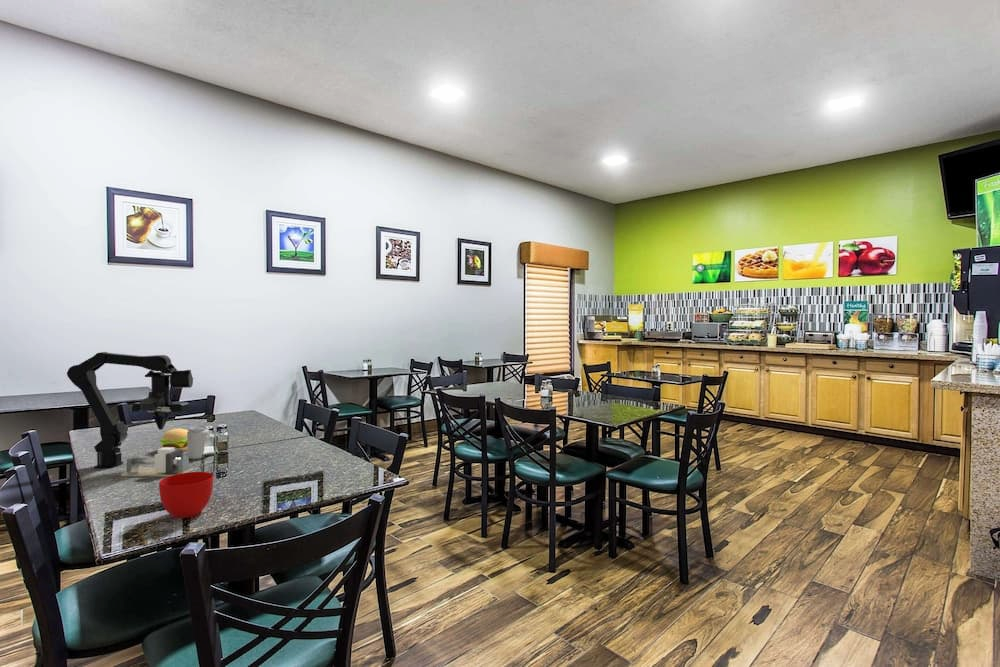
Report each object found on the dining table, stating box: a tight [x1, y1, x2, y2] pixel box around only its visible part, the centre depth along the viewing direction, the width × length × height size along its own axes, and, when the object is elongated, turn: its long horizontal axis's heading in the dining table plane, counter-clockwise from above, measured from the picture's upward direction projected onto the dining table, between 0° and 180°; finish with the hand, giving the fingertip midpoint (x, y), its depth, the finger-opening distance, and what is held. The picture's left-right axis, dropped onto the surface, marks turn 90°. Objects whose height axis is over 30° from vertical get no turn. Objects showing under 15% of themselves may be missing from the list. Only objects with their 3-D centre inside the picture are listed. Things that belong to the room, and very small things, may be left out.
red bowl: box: [158, 471, 214, 519], centre depth 144 cm, size 13×17×10 cm
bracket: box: [154, 447, 175, 473], centre depth 180 cm, size 4×6×8 cm, turn 0°
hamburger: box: [159, 428, 189, 452], centre depth 212 cm, size 12×12×9 cm
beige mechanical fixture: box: [119, 455, 195, 478], centre depth 180 cm, size 20×9×5 cm, turn 90°
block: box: [166, 449, 184, 473], centre depth 180 cm, size 2×7×6 cm, turn 0°
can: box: [186, 425, 210, 460], centre depth 200 cm, size 8×8×12 cm
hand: (160, 429), depth 193 cm, fingers closed
